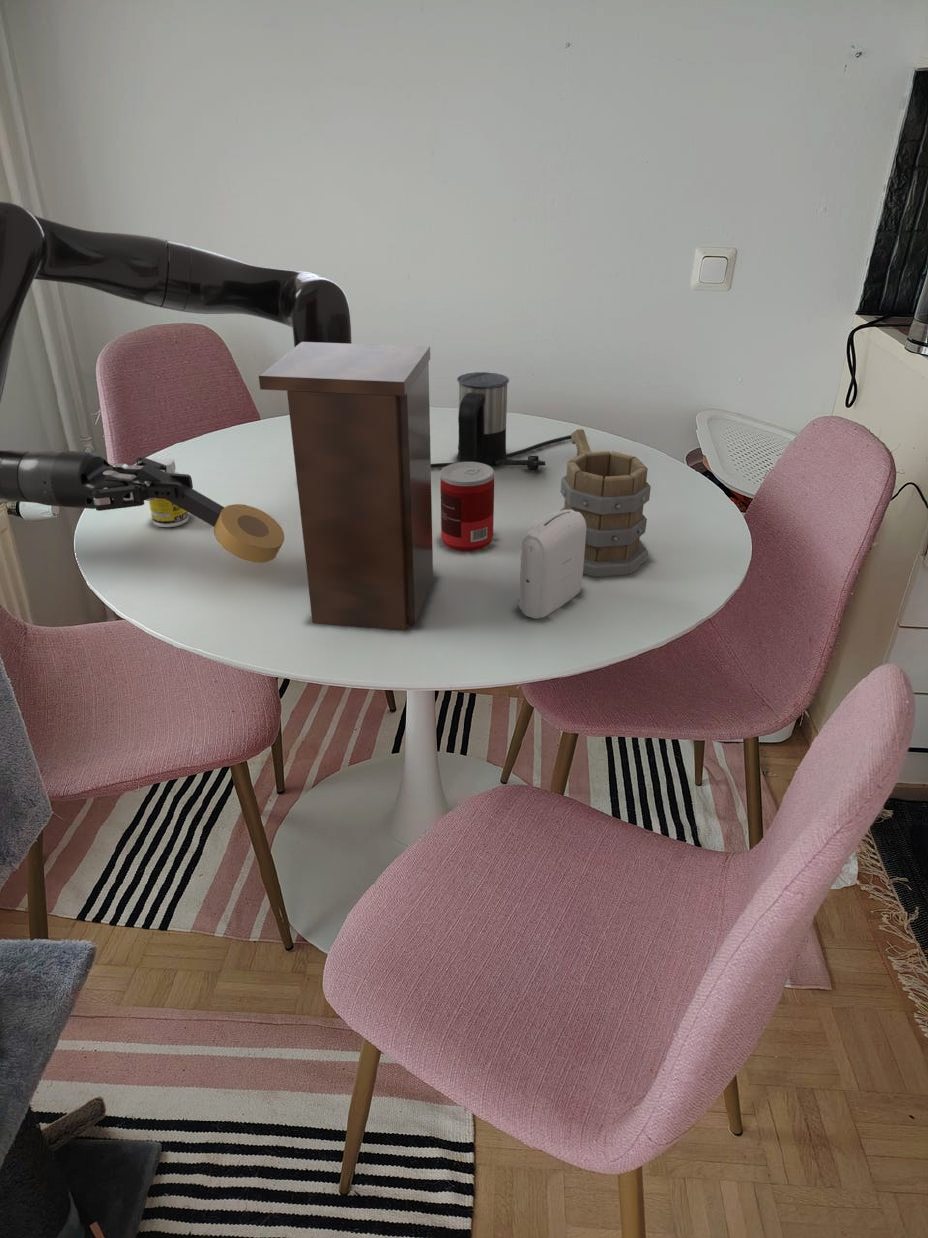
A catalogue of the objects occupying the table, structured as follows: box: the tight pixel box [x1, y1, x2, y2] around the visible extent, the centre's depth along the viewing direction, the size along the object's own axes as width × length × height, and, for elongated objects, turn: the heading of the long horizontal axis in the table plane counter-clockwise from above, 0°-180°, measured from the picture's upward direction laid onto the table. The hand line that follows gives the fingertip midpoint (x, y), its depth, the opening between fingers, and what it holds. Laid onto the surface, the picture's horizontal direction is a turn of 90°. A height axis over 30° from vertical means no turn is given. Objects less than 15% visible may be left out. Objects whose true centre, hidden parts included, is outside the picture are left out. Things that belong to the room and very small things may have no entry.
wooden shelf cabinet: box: [258, 342, 434, 631], centre depth 105 cm, size 16×15×31 cm
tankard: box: [559, 428, 652, 578], centre depth 122 cm, size 20×13×15 cm, turn 9°
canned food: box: [439, 461, 496, 553], centre depth 124 cm, size 8×8×11 cm
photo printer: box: [518, 510, 586, 620], centre depth 109 cm, size 10×4×12 cm, turn 140°
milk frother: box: [456, 371, 547, 471], centre depth 149 cm, size 14×16×15 cm
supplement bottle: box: [148, 456, 190, 528], centre depth 131 cm, size 5×5×10 cm
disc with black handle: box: [137, 463, 285, 564], centre depth 115 cm, size 20×9×3 cm, turn 81°
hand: (186, 487), depth 113 cm, fingers closed on disc with black handle, 2 cm apart
